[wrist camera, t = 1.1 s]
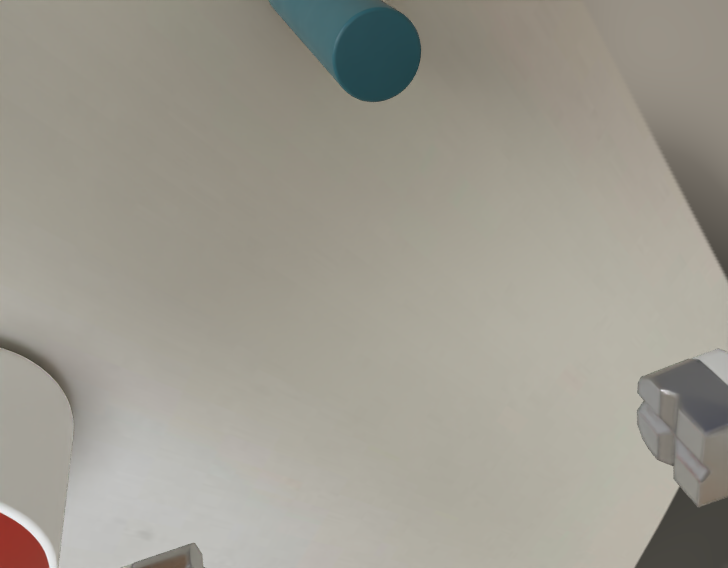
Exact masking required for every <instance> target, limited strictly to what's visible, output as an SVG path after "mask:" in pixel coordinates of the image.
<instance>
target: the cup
mask: <svg viewBox="0 0 728 568" xmlns="http://www.w3.org/2000/svg"><path fill="white" fill-rule="evenodd" d="M73 433H74V421H73V415H72V411H71V407H70V404H69V402H68V400H67V397H66V395H65V394H64V392H63V390H62V389H61V387H60V386H59V385H58V383H57V382H56V381H55V380H54V379H53V378H52V377H51V376H50V375H49V374H48V373H47V372H46V371H45V370H44V369H42V368H41V367H40V366H38V365H37V364H35V363H34V362H32V361H31V360H29V359H27V358H25V357H23V356H21V355H19V354H17V353H14V352H12V351H9V350H6V349H3V348H0V568H58V566H59V558H60V549H61V540H62V531H63V522H64V514H65V505H66V496H67V487H68V478H69V469H70V460H71V452H72V443H73Z"/></svg>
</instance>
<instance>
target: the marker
mask: <svg viewBox="0 0 728 568" xmlns="http://www.w3.org/2000/svg"><path fill="white" fill-rule="evenodd" d="M269 2H270V4H271V6H272V7H273V8H274V10H275V11H276V12H277V13H278V14H279V15H280V17H281V18H282V19H283V20H284V21H285V22H286V23H287V25H288V26H289V27H290V28H291V29H292V30H293V32H294V33H295V34H296V35H297V36H298V37H299V38H300V40H301V41H302V42H303V43H304V44H305V45H306V46H307V48H308V49H309V50H310V51H311V52H312V53H313V55H314V56H315V57H316V58H317V59H318V60H319V61H320V63H321V64H322V65H323V66H324V67H325V68H326V69H327V71H328V72H329V73H330V74H331V75H332V76H333V78H334V79H335V80H336V81H337V82H338V83H339V84H340V86H341V87H342V88H343V89H344V90H345V91H346V92H347V93H348V94H350V95H351V96H353V97H355V98H357V99H359V100H362V101H367V102H380V101H384V100H387V99H390V98H392V97H394V96H396V95H398V94H399V93H400V92H402V91H403V90H404V89H405V88H406V87H407V86H408V85H409V84H410V82H411V81H412V80H413V78H414V76H415V74H416V72H417V70H418V67H419V63H420V58H421V44H420V39H419V35H418V33H417V30H416V28H415V27H414V25H413V24H412V22H411V21H410V20H409V19H408V18H407V17H406V16H405V15H404V14H402V13H401V12H399V11H397V10H396V9H394V8H392V7H391V6H389V5H387V4H386V3H384V2H382V1H381V0H269Z"/></svg>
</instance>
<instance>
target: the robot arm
mask: <svg viewBox="0 0 728 568" xmlns="http://www.w3.org/2000/svg"><path fill="white" fill-rule="evenodd" d="M637 393H638V394H639V395H640V397H641V398H642V399H643V400H644V401H643V403H642V404H641V406H640V407H639V408H638V410H637V425H638V428H639V430H640V433H641V436H642V439H643V441H644V442H645V444H646V446H647V447H648V449H649V450H650V451H651V453H652V454H653V455H654V456H655V457H656V459H657V460H659V461H661V462H664V463H667V464H669V465H672V466H673V476H674V480H675V481H676V482H677V483H678V485H679V486H680V487H681V488H682V489H683V490H684V491H685V493H686V494H687V495H688V496H689V497H690V498H691V500H692V501H693V502H694V503H695V504H696V505H697V506H698V507H701V506H704V505H706V504H709V503H712V502H715V501H718V500H720V499H723V498H726V497H728V353H727V352H726V351H724V350H721V349H719V348H718V349H715V350H712V351H710V352H707V353H704V354H701V355H699V356H696V357H693V358H691V359H686V360H684V361H681V362H679V363H676V364H673V365H671V366H668V367H666V368H663V369H660V370H658V371H655V372H653V373H650V374H647V375H645V376H642V377H641V378H640V380H639V382H638V390H637ZM121 568H205V567H203V558H202V553H201V552H200V550H199V549H198V547H197V545H196V544H195V543H191V544H188V545H185V546H182V547H179V548H176V549H173V550H170V551H167V552H164V553H161V554H159V555H156V556H153V557H150V558H147V559H144V560H141V561H138V562H135V563H133V564H130V565H127V566H124V567H121Z"/></svg>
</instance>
